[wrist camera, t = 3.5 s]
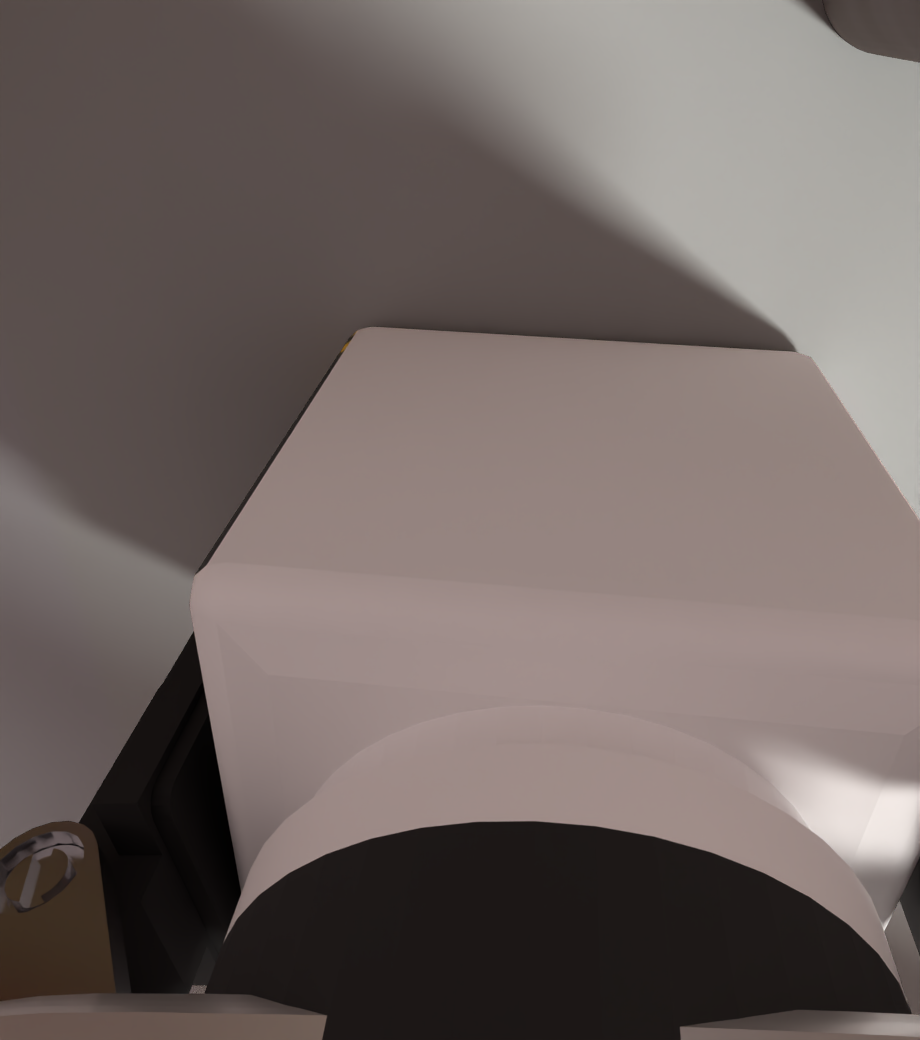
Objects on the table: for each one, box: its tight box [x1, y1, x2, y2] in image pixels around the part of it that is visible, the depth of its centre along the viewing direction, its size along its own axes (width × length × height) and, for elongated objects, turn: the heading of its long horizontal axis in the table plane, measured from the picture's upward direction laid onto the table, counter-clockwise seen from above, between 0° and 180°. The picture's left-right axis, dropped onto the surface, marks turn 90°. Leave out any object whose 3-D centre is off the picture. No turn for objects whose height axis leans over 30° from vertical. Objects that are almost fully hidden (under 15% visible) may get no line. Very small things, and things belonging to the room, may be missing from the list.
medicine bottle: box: [189, 327, 920, 1040], centre depth 10 cm, size 7×7×12 cm
